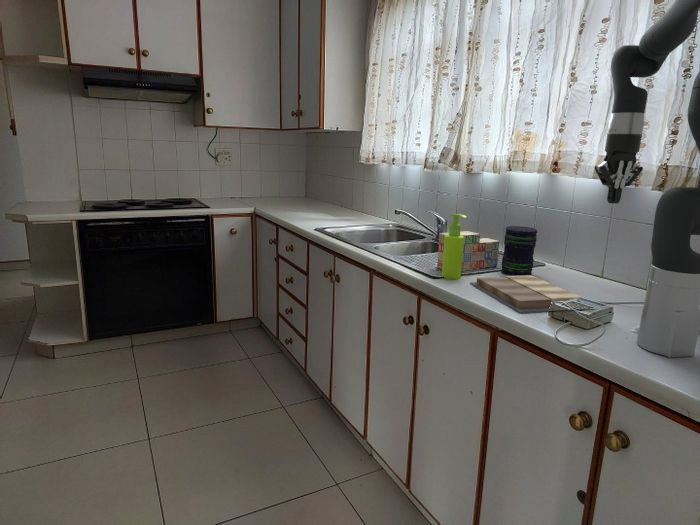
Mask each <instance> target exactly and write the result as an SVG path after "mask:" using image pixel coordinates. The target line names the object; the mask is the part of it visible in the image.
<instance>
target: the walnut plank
mask: <svg viewBox="0 0 700 525" xmlns="http://www.w3.org/2000/svg"><path fill="white" fill-rule="evenodd" d="M476 282H477V283H476V284H477V285H479V286H480V287H482V288H484V289H486V290H487V291H489V292H491V293H492V294H494V295H496V296H498V297H499V298H501V299H503V300H505V301H506V302H508V303H510V304H512V305H513V306H515V307H517V308H519V309H522V308H541V307H550V303H551V299H549V298H547V297H545V296H543V295H541V294H539V293H537V292H534V291H532V290H530V289H528V288H526V287H524V286H522V285H520V284H518V283H516V282H514V281H512V280H510V279H508V278H506V277H505V276H489V277H488V276H487V277H485V276H483V277H476Z"/></svg>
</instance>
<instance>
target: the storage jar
mask: <svg viewBox="0 0 700 525" xmlns="http://www.w3.org/2000/svg"><path fill="white" fill-rule="evenodd" d="M537 233H538V229H537V228H534V227H528V226H519V225H517V226H516V225H510V226H506V227H505V233H504V241H503V242H504V243H503V244H504V250H503V255H502V258H501V270H500V272H501V274H503V275H505V276H525V275H532V274H533V273H532V271H533V268H534V260H535V259H534V252H535V248H536V246H537V244H536V243H537ZM532 276H533V275H532Z"/></svg>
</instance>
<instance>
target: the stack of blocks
mask: <svg viewBox="0 0 700 525" xmlns="http://www.w3.org/2000/svg"><path fill="white" fill-rule="evenodd" d="M448 234H449V232H440V233H439V236H438V239H439V241H438V247H437V248H438V249H437V250H438V251H437V252H438V253H437V261H436V262H437V264H436V268H437V269H438V268H439V270H441V269H442V264H443V251H444V239H445V235H448ZM460 235H461V236H464V244H463V255H462V266H461V270H466V271H469V270H468V269H474V270H476V269H475V268H482V267H490V268H496V267H495V266H497V267H498V262H499V261H498V260H499V252H500V251H499V250H500V249H499V248H500V240H496V239H491V238H488V237H486V238H485V237H484V238H481V234H480V233H478V232H472V231H468V230H466V231H465V230H464V231H460ZM482 269H483V268H482Z"/></svg>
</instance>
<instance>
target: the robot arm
mask: <svg viewBox="0 0 700 525" xmlns="http://www.w3.org/2000/svg"><path fill="white" fill-rule="evenodd" d="M699 9H700V0H675V1H674V2H673V3H672V4H671V6H670V7H669V8H668V10H666V12H664V14H663V15H662V16H660V18H659V19H658V20H657V21H655V23H653V25H652V26H651V27H649V28H648V29H647V30H646V31H645V32H644V34H642V36H641V37H640V39H639V43H638V44H637V45H636V44H626V45H622V46H620V47H618V49H616V50H615V52H614V53H613V56H612V58H611V62H610V73H611V78H612V79H611V80H612V87H613V89H612V90H613V104H612V109H611V113H610V114H611V116H610V118H609V122H608V127H607V128H608V129H607V133H606V139H605V146H604V147H605V148H604V152H605V154H606V155H605V156H604V158H603V162H602V163H600V164H596V165H594V170H595V172H596V174H597V177H598V178H599V180H600V184H601V185H602V186H605V187H607V188H608V190H607V196H606V200H607V202H608V204H619V203H620V202H621V199H622V198H621V197H622V192H623V189H624V188H626V187H631V185H632V184H633V182H635V180H636V179H637V178H638V176H639V175H640V174H641V173H642V171H643V170H644V168H643V166H639V165H638V164H637V160H638V159H637V154H638V153H639V152H640V148H641V143H642V137H643V131H644V125H645V112H646V106H647V102H648V90H647V89H646V88H644V87H640V86H637V85H635V84H634V83H633V81H632V79H631V78H640V79H641V78H650V77H652V76H654V75H655V74H657V73H658V72H659V71H660V69H661V68H662V66H663V64H664V62H665V61H666V59H667V58H668V57H669V55H670V54H671V53H672V52H673V51H674V50H676V49H677V48H678V47H679V46H680V45H682V44H683V43H684V42H685V41H686V40H687V39H688V38H689V37H690V36H691V35H692V34H693V32H694V31H695V30H694V29H695V28H696V25H697V22H698V16H699V14H698V13H699ZM692 84H693V85H692V88H691V92H690V94H691V95H690V97H689V98H690V99H689V103H688V107H687V123H688V127H689V129H690V132H691V135H692V137H693V138H692V139H693V140H694V142H695V144H696V147H697V150H698V153H699V154H700V70H699V71H698V73H697V74H696V77H695V78H694V81H693V83H692ZM653 221H654V222H653V229H652V237H651V243H650V249H651V257H652V258H651V264H650V270H649V275H648V279H647V280H648V281H647V286H646V289H645V290H646V292H645V297H644V299H643V300H644V301H643V306H642V311H641V317H640V322H639V328H638V334H637V339H636V340H637V341H636V344H637V345H638V346H639V347H640V348H642V349H644V350H646V351H649V352H652V353H654V354H657V355H662V356H666V357H667V358H670V359H671V358H680V357H681V358H682V357H692V356H694V355H695V351H696V346H697V343H698V338H699V332H700V309H699V308H700V253H699V252H697V251H695V250H693V249H692V247H691V236H700V176H699V177H698V183H697V187H694V186H691V187H689V186H688V187H687V186H675V187H671V188H668V189H667V190H665V191H664V192H663V194H662V195H661V196H660V198H659V199H658V202H657V205H656V207H655V213H654V219H653Z"/></svg>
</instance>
